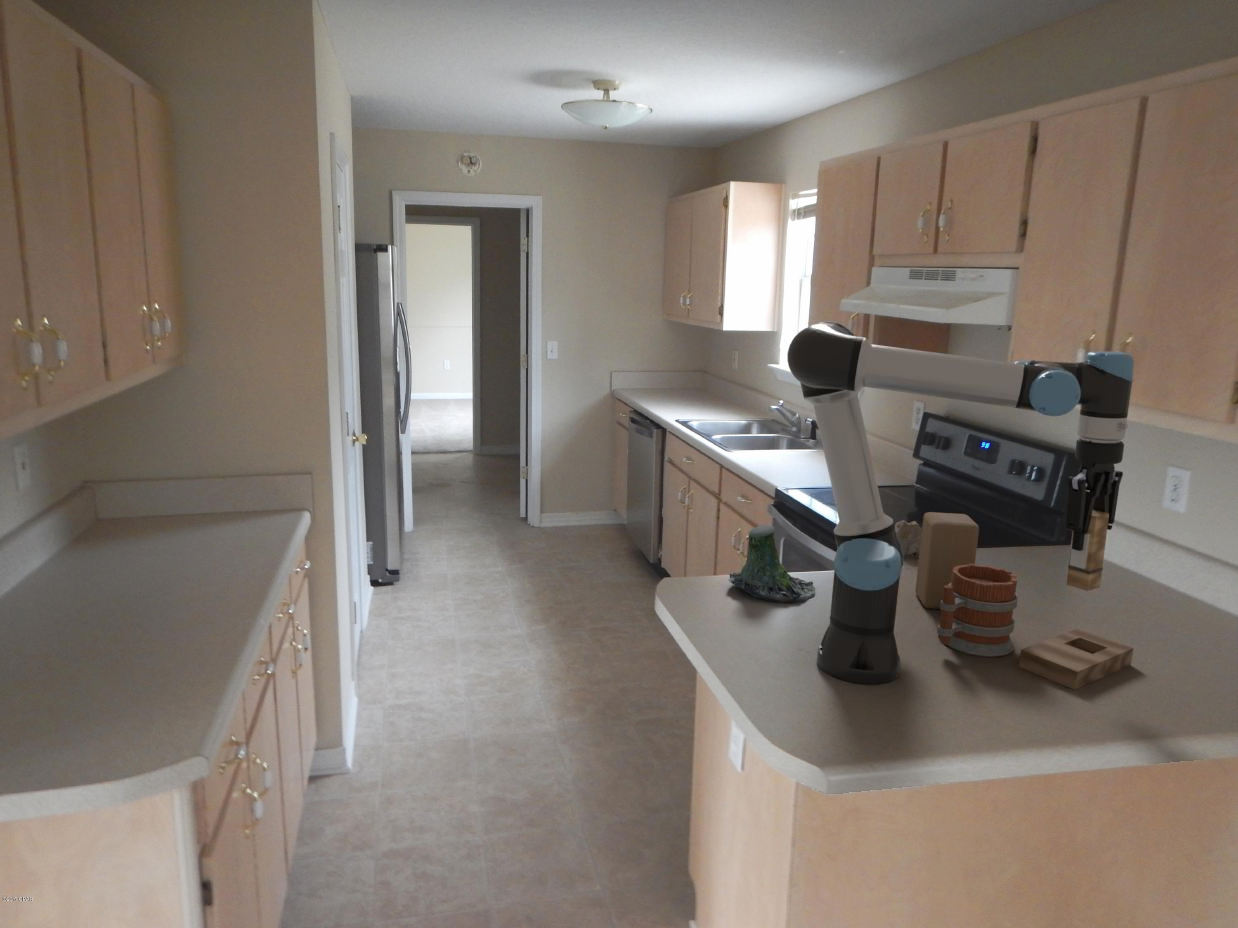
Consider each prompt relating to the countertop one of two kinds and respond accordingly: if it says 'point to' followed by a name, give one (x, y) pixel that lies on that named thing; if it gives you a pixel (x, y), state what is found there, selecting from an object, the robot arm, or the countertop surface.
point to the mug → (979, 611)
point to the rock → (909, 537)
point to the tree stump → (769, 571)
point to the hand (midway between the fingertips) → (1085, 564)
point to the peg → (1091, 555)
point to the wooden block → (943, 553)
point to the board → (1075, 658)
